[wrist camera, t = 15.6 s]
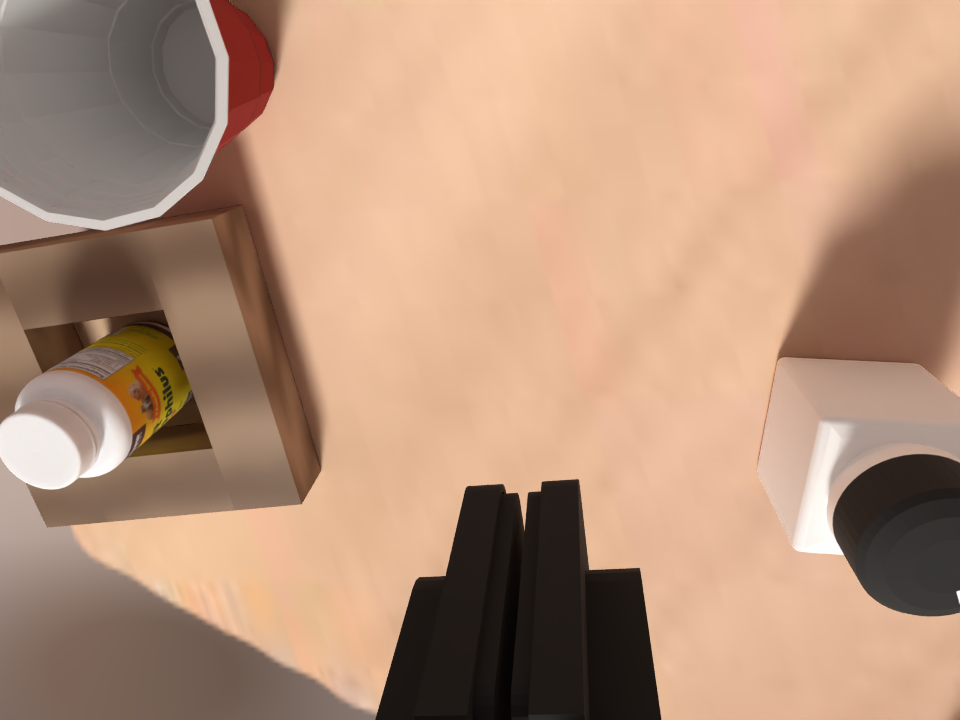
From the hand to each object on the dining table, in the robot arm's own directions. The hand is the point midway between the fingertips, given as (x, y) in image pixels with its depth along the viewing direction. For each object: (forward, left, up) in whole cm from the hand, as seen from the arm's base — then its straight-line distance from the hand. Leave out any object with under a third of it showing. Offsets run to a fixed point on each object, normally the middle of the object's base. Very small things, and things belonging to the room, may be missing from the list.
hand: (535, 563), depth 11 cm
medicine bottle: (+13, +13, -27) cm, 33 cm away
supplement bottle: (+5, -23, -27) cm, 36 cm away
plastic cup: (-10, -15, -27) cm, 32 cm away
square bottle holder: (+5, -24, -26) cm, 36 cm away
